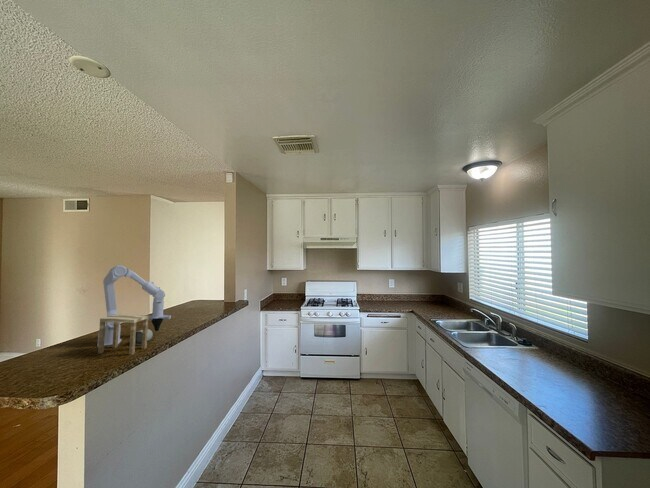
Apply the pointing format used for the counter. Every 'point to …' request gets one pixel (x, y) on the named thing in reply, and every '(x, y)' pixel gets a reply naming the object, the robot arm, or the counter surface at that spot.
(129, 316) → the counter shelf
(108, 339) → the robot arm
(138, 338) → the ceramic mug
